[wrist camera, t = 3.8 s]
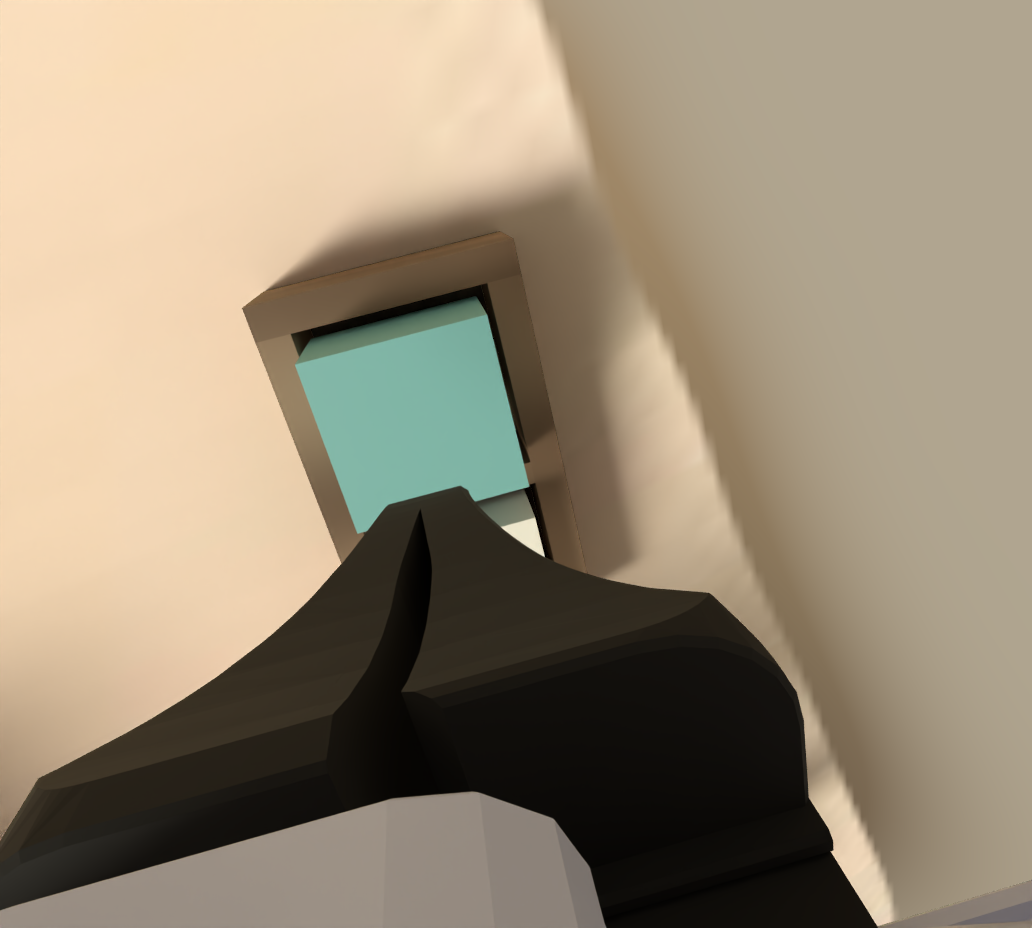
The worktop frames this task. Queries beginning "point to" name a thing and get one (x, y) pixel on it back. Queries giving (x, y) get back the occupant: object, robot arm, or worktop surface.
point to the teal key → (413, 408)
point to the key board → (398, 281)
